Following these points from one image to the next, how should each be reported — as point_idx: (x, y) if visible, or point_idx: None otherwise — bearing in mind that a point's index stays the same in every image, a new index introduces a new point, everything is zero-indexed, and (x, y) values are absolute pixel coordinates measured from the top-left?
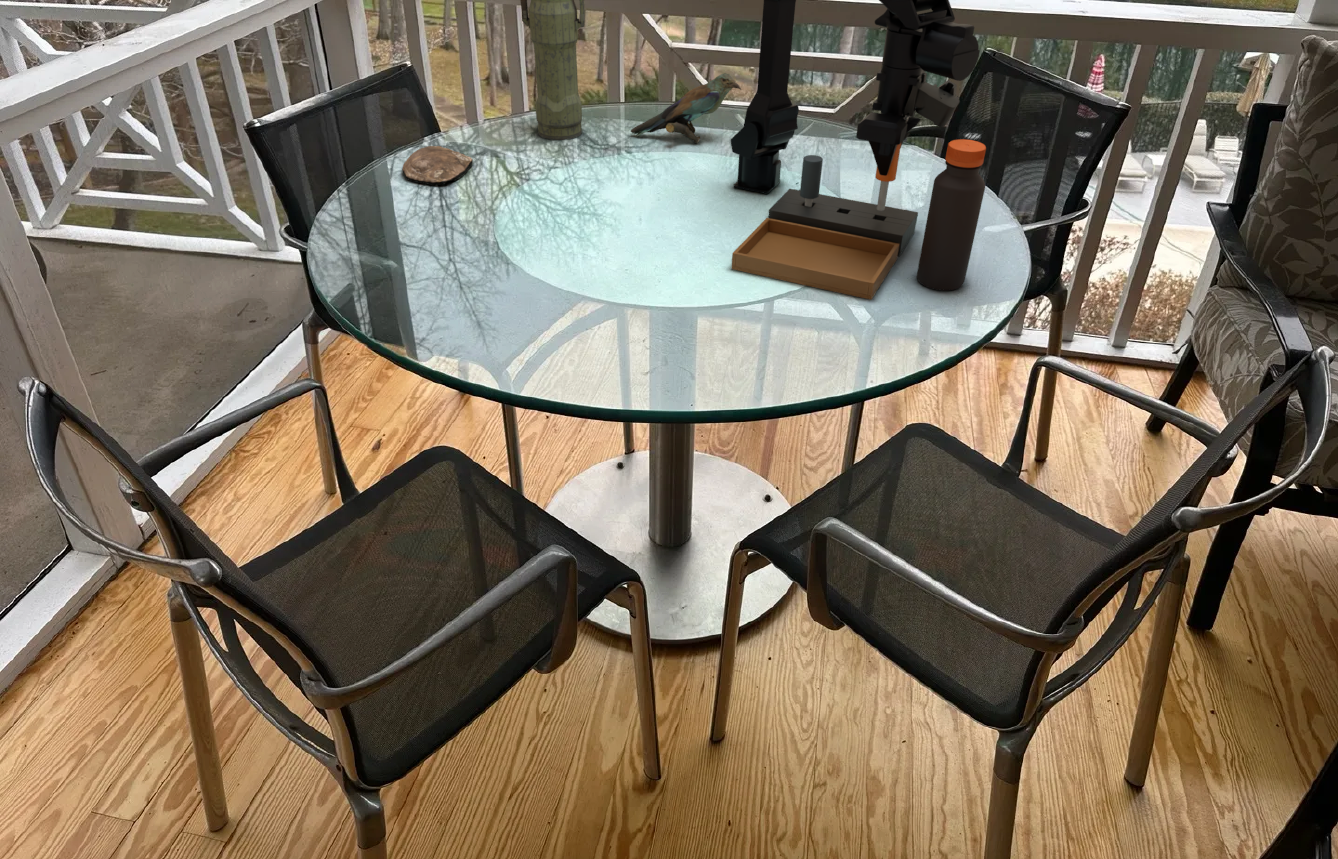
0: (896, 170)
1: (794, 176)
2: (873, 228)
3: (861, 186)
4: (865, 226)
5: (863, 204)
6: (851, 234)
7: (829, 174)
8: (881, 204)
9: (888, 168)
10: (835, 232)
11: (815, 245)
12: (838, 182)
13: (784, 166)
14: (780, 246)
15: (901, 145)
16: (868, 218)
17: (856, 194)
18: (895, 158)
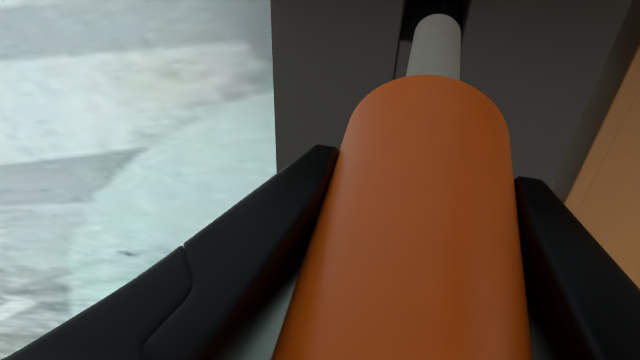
0: (441, 121)
1: (90, 260)
2: (598, 23)
3: (8, 99)
4: (577, 66)
5: (302, 105)
6: (613, 105)
7: (8, 190)
8: (460, 49)
9: (583, 226)
10: (598, 166)
11: (605, 189)
12: (37, 164)
13: (54, 280)
14: (630, 277)
15: (205, 253)
16: (463, 65)
17: (78, 106)
18: (497, 244)
